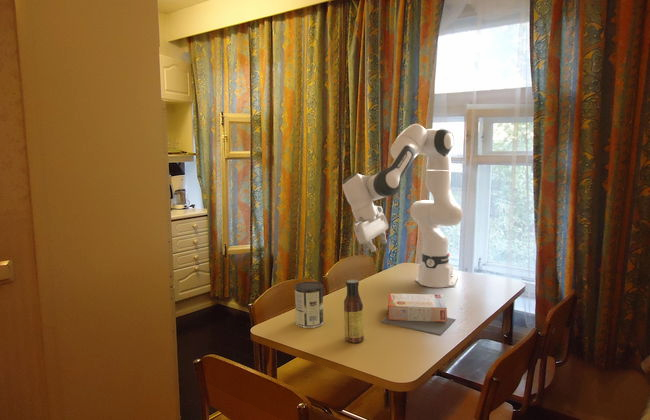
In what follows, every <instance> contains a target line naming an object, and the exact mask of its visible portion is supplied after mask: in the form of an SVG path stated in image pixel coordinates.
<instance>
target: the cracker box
mask: <svg viewBox="0 0 650 420" xmlns="http://www.w3.org/2000/svg"><path fill="white" fill-rule="evenodd" d="M387 299H388V302H387V303H388V304H387V317H388V320H401V321H427V322H446V321H447V317H448V313H447V312H448V308H447V305H446V301H445V299H444V295H443V294H426V293H425V294H424V293H420V294H419V293H393V292H392V293H388V297H387Z"/></svg>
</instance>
